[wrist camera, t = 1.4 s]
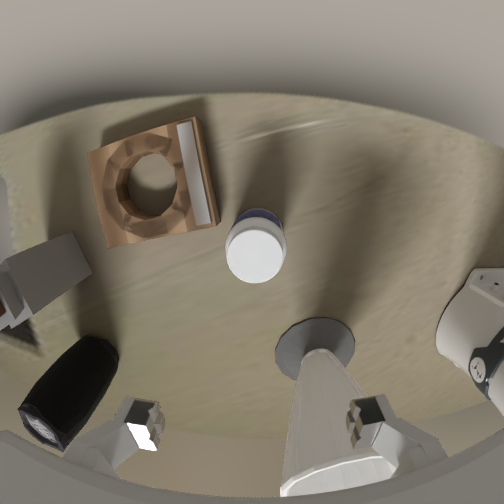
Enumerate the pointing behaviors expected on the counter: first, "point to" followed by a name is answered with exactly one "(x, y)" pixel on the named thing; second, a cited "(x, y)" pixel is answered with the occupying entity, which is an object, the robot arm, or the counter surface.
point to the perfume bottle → (39, 277)
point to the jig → (187, 176)
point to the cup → (323, 412)
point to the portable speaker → (69, 392)
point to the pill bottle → (256, 246)
